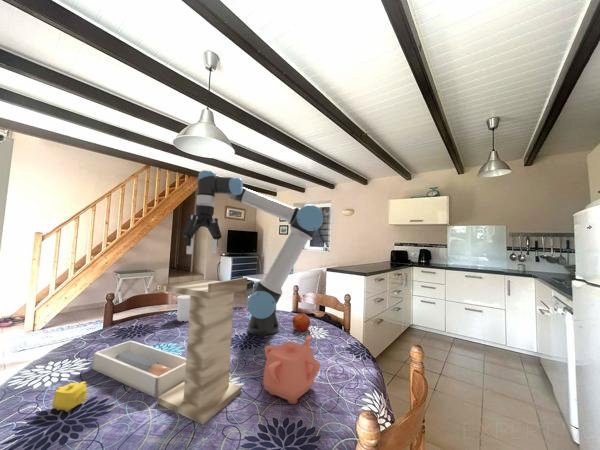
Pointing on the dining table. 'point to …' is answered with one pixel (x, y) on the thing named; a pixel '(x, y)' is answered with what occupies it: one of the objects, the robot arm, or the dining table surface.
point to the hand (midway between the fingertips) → (202, 253)
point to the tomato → (301, 322)
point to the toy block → (69, 396)
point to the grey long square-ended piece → (142, 363)
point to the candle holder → (183, 307)
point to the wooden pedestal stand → (206, 350)
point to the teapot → (290, 370)
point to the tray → (136, 377)
